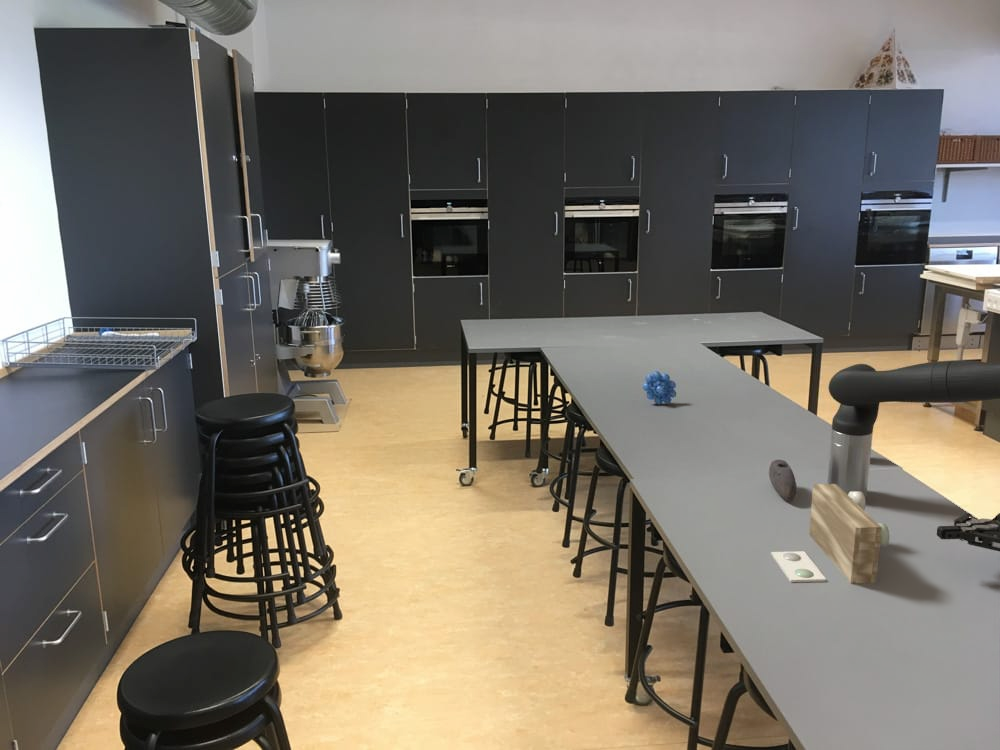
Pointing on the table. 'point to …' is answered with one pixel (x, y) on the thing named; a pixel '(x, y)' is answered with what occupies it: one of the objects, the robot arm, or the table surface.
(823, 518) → the light wood rectangular block
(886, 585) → the table surface
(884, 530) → the button sage
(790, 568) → the pattern card
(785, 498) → the perforated stone tool
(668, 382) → the blue bumpy cluster
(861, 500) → the button white
